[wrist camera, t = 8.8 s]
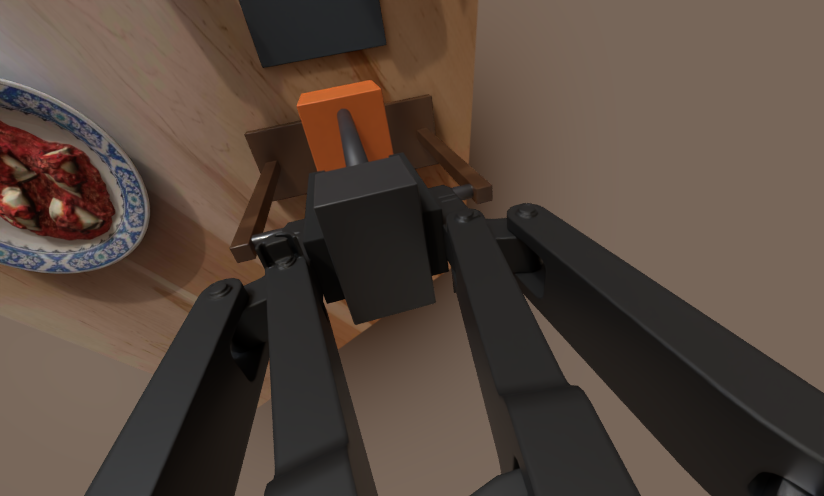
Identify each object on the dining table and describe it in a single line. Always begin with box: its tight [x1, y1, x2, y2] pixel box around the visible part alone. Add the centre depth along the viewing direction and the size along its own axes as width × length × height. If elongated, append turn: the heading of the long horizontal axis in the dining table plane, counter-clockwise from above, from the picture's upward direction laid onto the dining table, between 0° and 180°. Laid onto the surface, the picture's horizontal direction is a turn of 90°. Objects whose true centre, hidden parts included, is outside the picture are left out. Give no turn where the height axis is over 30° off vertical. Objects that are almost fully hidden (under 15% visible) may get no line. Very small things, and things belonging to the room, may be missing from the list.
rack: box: [230, 94, 492, 263], centre depth 40 cm, size 26×10×24 cm, turn 99°
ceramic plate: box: [0, 79, 150, 274], centre depth 42 cm, size 26×26×3 cm
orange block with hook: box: [297, 80, 436, 325], centre depth 21 cm, size 6×6×22 cm
